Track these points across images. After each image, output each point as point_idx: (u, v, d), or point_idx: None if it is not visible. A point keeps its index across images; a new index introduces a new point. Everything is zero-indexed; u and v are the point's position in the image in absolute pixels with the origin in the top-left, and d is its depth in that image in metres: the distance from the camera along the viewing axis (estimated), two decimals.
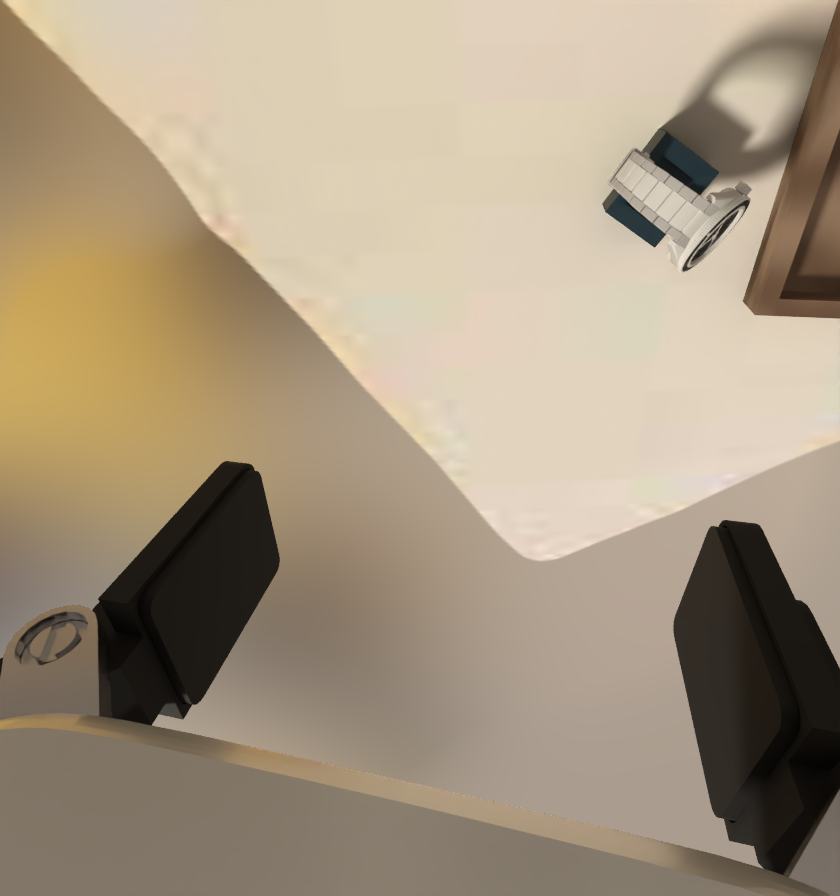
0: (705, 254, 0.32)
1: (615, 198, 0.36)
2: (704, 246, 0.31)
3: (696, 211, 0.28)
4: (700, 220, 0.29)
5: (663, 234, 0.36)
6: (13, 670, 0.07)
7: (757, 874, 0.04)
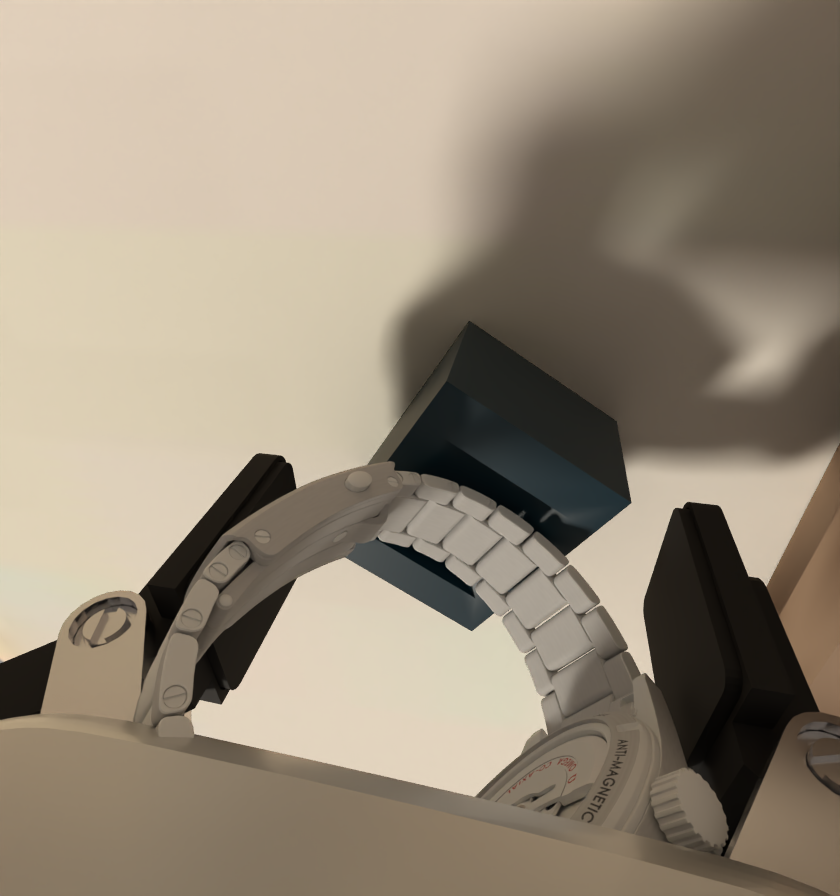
0: None
1: None
2: None
3: None
4: None
5: (489, 610, 0.13)
6: (68, 652, 0.08)
7: (757, 874, 0.04)
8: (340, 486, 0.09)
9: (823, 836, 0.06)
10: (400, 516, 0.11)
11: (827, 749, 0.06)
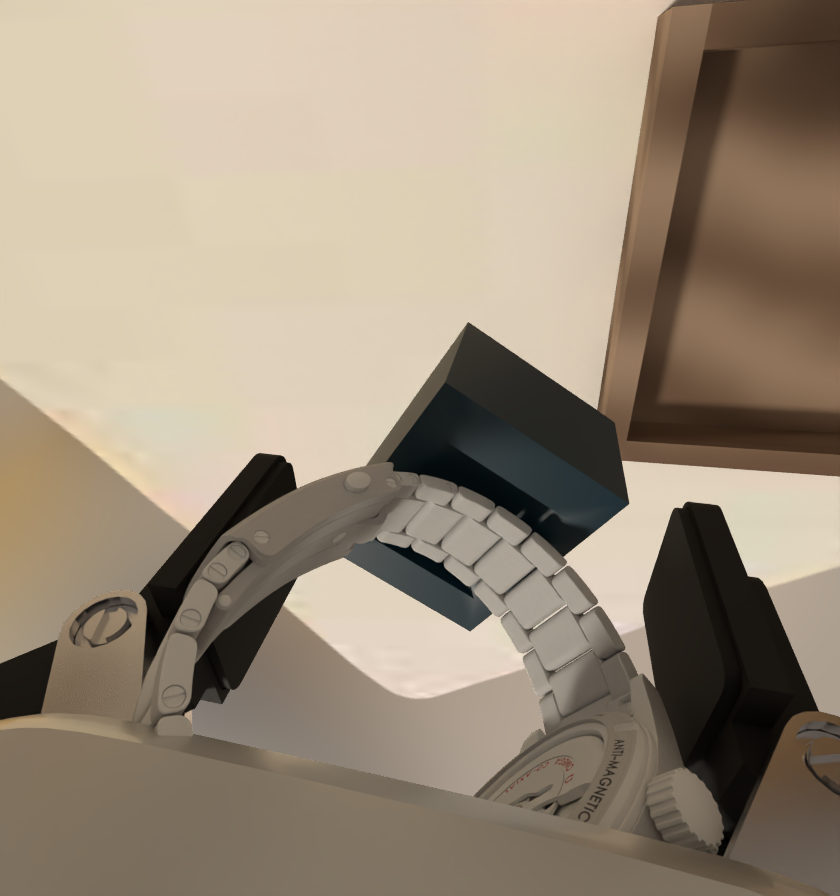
0: None
1: None
2: None
3: None
4: None
5: (487, 610, 0.13)
6: (69, 651, 0.08)
7: (757, 874, 0.04)
8: (339, 487, 0.09)
9: (822, 836, 0.06)
10: (399, 517, 0.11)
11: (826, 748, 0.06)
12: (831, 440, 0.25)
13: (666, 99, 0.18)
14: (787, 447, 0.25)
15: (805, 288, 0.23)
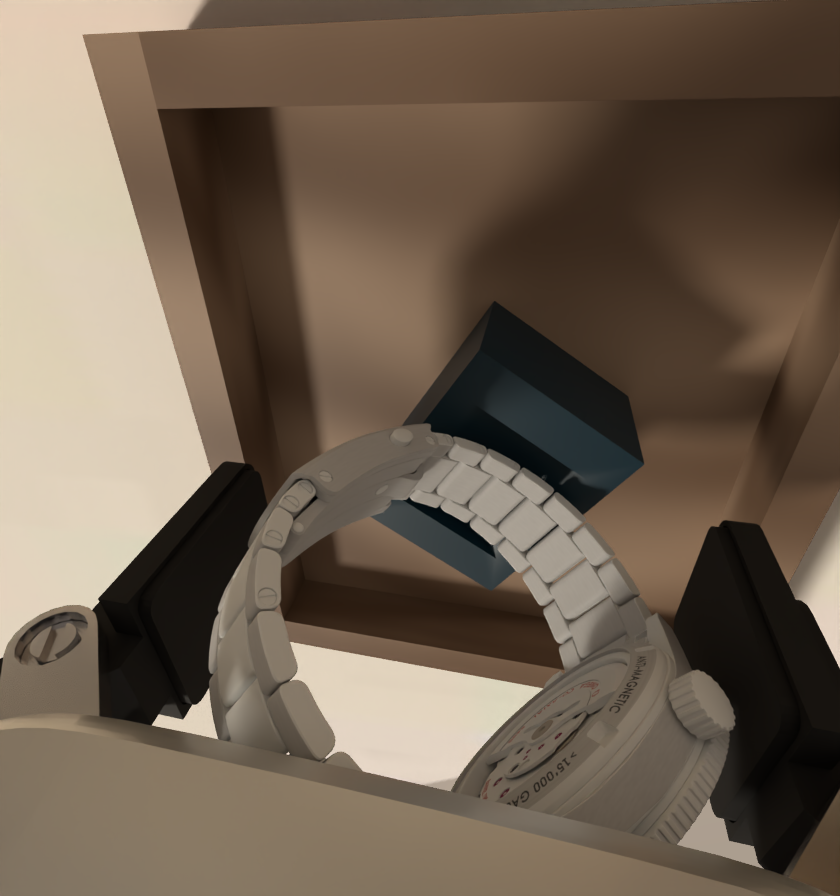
0: None
1: None
2: None
3: None
4: None
5: (508, 570, 0.14)
6: (13, 670, 0.07)
7: (757, 874, 0.04)
8: (386, 440, 0.10)
9: None
10: (432, 476, 0.12)
11: None
12: (551, 635, 0.18)
13: (138, 184, 0.11)
14: (486, 647, 0.18)
15: None
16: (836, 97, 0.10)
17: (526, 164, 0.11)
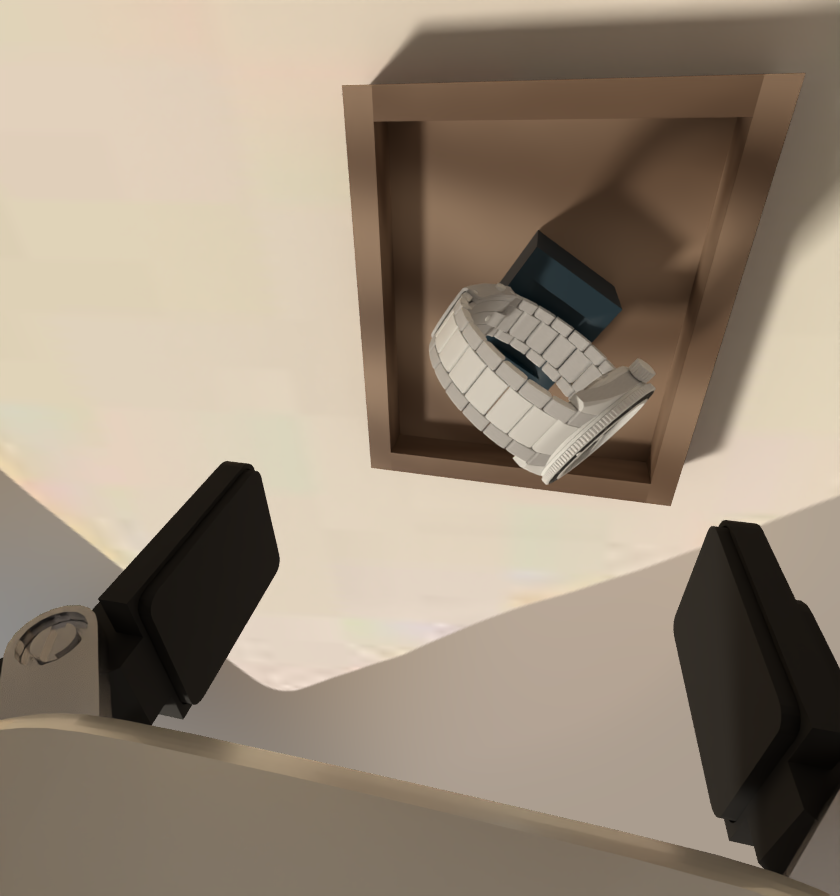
0: (593, 449, 0.20)
1: None
2: None
3: (552, 422, 0.16)
4: (562, 433, 0.16)
5: (546, 388, 0.24)
6: (13, 670, 0.07)
7: (757, 874, 0.04)
8: (494, 287, 0.20)
9: None
10: (509, 320, 0.22)
11: None
12: None
13: (354, 160, 0.22)
14: None
15: None
16: (713, 117, 0.20)
17: (558, 151, 0.22)
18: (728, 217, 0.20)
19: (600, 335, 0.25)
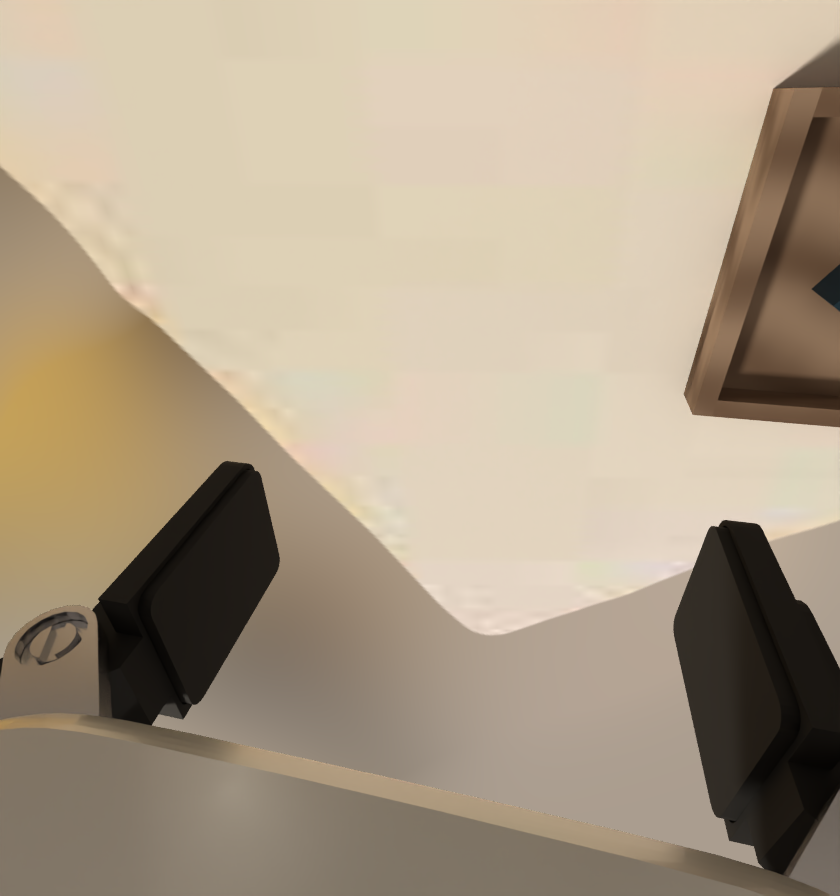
0: None
1: None
2: None
3: None
4: None
5: None
6: (13, 670, 0.07)
7: (757, 874, 0.04)
8: None
9: None
10: None
11: None
12: None
13: (782, 148, 0.26)
14: None
15: None
16: None
17: None
18: None
19: None
